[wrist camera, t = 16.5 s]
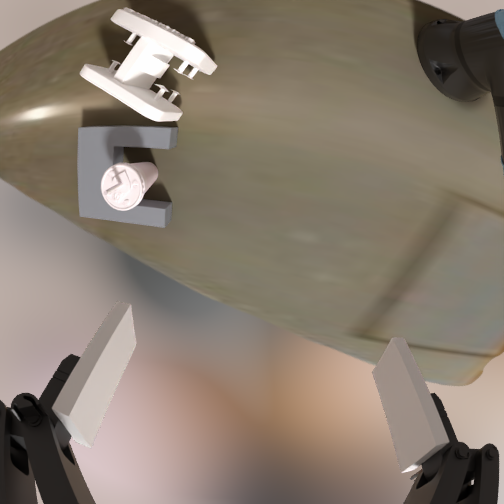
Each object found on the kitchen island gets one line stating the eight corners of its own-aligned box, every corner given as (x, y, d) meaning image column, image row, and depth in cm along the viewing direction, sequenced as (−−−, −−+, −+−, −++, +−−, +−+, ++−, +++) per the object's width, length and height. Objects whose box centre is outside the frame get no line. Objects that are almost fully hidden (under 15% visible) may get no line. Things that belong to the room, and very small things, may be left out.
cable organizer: (111, 77, 35) (69, 71, 25) (148, 24, 31) (115, 2, 21) (180, 122, 39) (152, 124, 28) (223, 66, 35) (208, 47, 24)
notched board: (178, 127, 39) (171, 128, 36) (171, 219, 45) (164, 227, 42) (90, 126, 38) (78, 127, 35) (89, 209, 45) (79, 216, 42)
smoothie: (171, 162, 41) (134, 181, 29) (158, 198, 44) (120, 231, 31) (136, 147, 40) (89, 162, 28) (125, 183, 43) (78, 211, 30)
